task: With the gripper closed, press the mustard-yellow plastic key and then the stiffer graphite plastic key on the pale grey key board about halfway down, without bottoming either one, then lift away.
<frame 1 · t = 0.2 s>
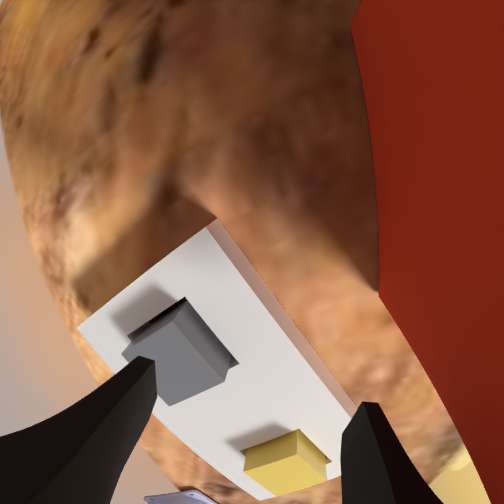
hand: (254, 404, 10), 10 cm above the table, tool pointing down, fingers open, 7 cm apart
mustard key: (286, 462, 19), point 3 cm above the table, slide at 0.0 cm
graphite key: (178, 354, 18), point 3 cm above the table, slide at 0.0 cm
file binder: (424, 156, 17), on the table
key board: (244, 387, 22), on the table
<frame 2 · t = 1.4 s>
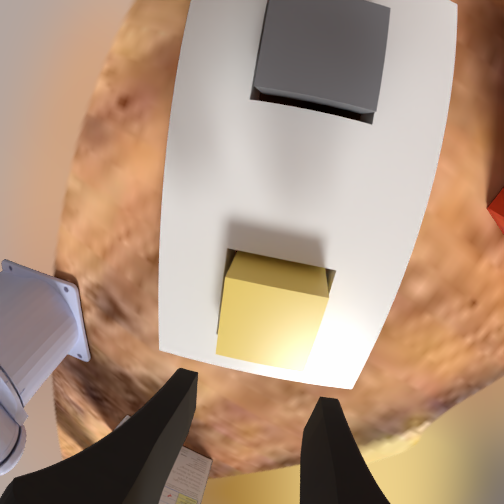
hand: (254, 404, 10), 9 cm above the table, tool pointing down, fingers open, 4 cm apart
mustard key: (270, 311, 15), point 4 cm above the table, slide at 0.0 cm
graphite key: (322, 50, 10), point 3 cm above the table, slide at 0.0 cm
key board: (297, 176, 16), on the table
light bulb box: (160, 445, 29), on the table
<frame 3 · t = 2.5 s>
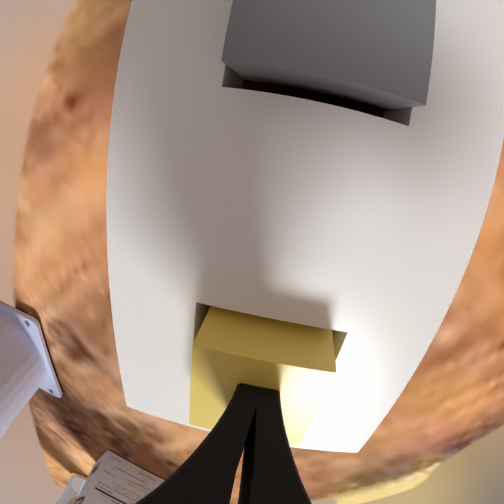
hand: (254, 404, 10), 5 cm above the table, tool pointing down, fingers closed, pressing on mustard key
mustard key: (258, 375, 11), point 3 cm above the table, slide at 0.4 cm, touching gripper
graphite key: (333, 11, 6), point 3 cm above the table, slide at 0.0 cm
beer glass: (90, 482, 30), on the table
key board: (295, 197, 12), on the table
light bulb box: (146, 478, 25), on the table
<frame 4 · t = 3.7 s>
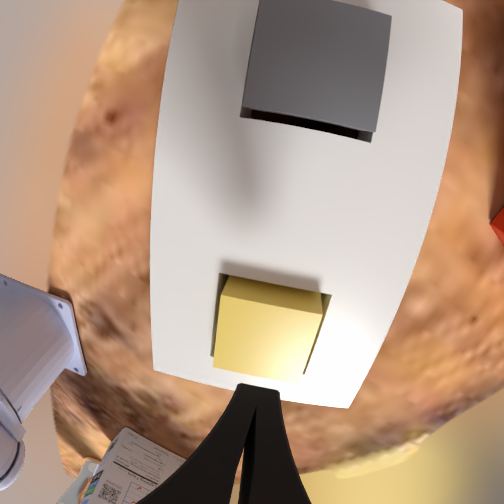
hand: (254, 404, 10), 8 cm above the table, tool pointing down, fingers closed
mustard key: (266, 325, 15), point 3 cm above the table, slide at 0.8 cm
graphite key: (317, 63, 10), point 3 cm above the table, slide at 0.0 cm
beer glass: (103, 467, 34), on the table
key board: (292, 195, 15), on the table
light bulb box: (159, 455, 28), on the table
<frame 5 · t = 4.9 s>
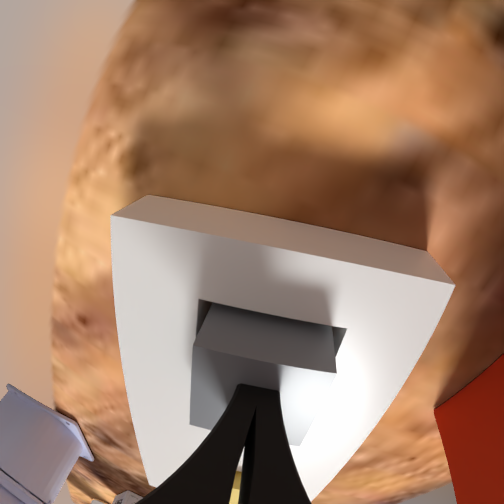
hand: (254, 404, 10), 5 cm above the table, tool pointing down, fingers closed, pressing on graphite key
mustard key: (229, 480, 17), point 3 cm above the table, slide at 0.8 cm
graphite key: (259, 375, 11), point 3 cm above the table, slide at 0.1 cm, touching gripper
key board: (248, 403, 17), on the table
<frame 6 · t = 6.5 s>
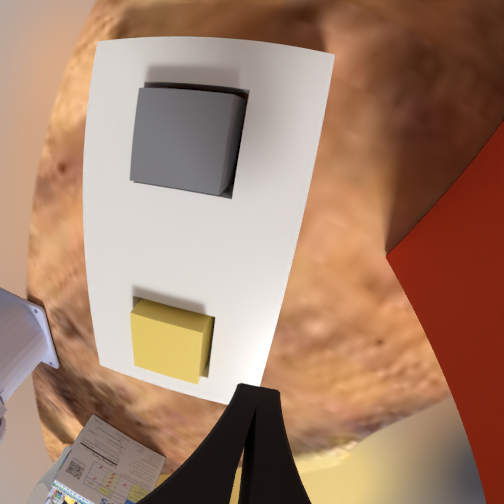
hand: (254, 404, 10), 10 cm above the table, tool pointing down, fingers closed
mustard key: (173, 336, 19), point 3 cm above the table, slide at 0.8 cm
graphite key: (188, 136, 14), point 3 cm above the table, slide at 0.8 cm
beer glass: (80, 452, 37), on the table
file binder: (502, 196, 15), on the table
key board: (192, 233, 19), on the table
light bulb box: (123, 442, 32), on the table
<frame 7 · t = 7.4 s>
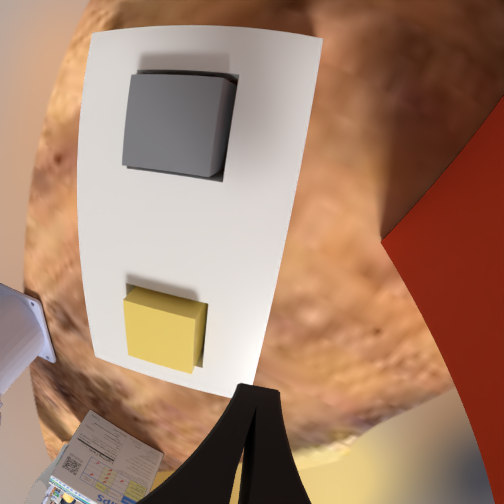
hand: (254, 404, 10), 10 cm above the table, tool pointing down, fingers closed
mustard key: (166, 325, 19), point 3 cm above the table, slide at 0.8 cm
graphite key: (179, 122, 14), point 3 cm above the table, slide at 0.8 cm
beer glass: (79, 450, 37), on the table
file binder: (498, 181, 15), on the table
key board: (185, 221, 19), on the table
light bulb box: (121, 438, 32), on the table
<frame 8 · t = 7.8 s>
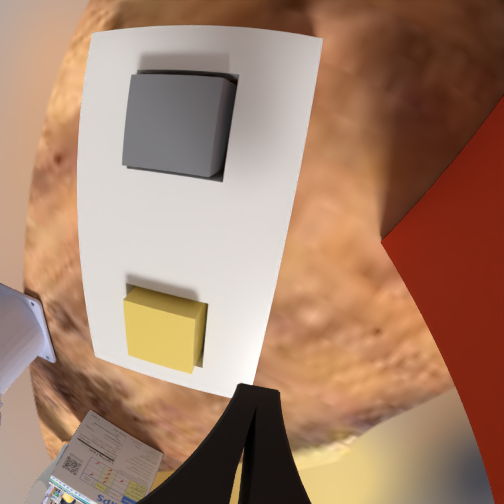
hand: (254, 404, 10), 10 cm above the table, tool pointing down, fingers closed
mustard key: (166, 325, 19), point 3 cm above the table, slide at 0.8 cm
graphite key: (179, 122, 14), point 3 cm above the table, slide at 0.8 cm
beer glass: (79, 450, 37), on the table
file binder: (498, 181, 15), on the table
key board: (185, 221, 19), on the table
light bulb box: (121, 438, 32), on the table
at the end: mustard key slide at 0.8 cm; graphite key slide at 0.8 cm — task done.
